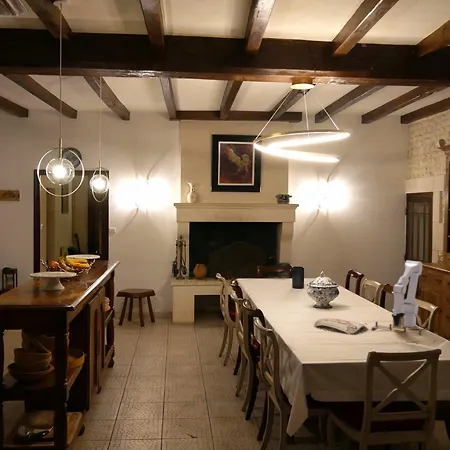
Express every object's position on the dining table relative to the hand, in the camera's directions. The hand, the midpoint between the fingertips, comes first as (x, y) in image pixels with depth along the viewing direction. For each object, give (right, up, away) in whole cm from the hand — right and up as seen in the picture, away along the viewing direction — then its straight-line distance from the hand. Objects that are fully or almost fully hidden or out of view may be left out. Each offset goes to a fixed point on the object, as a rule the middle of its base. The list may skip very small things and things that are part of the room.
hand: (397, 324), depth 322 cm
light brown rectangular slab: (0, -2, 0) cm, 2 cm away
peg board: (0, -5, 0) cm, 5 cm away
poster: (-33, -4, +11) cm, 36 cm away
